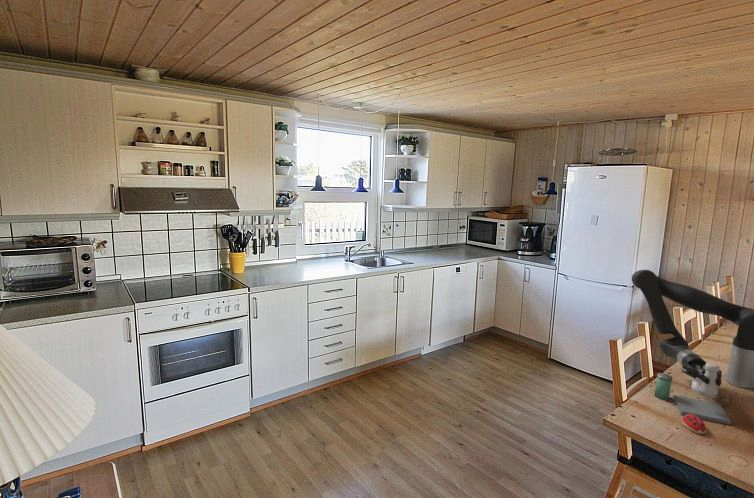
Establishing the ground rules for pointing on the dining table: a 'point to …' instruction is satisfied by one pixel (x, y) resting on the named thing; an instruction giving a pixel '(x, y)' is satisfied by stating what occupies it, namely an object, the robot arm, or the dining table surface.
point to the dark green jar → (663, 386)
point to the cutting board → (701, 409)
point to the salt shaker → (711, 388)
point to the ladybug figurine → (694, 424)
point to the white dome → (696, 385)
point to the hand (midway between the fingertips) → (713, 382)
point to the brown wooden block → (720, 399)
